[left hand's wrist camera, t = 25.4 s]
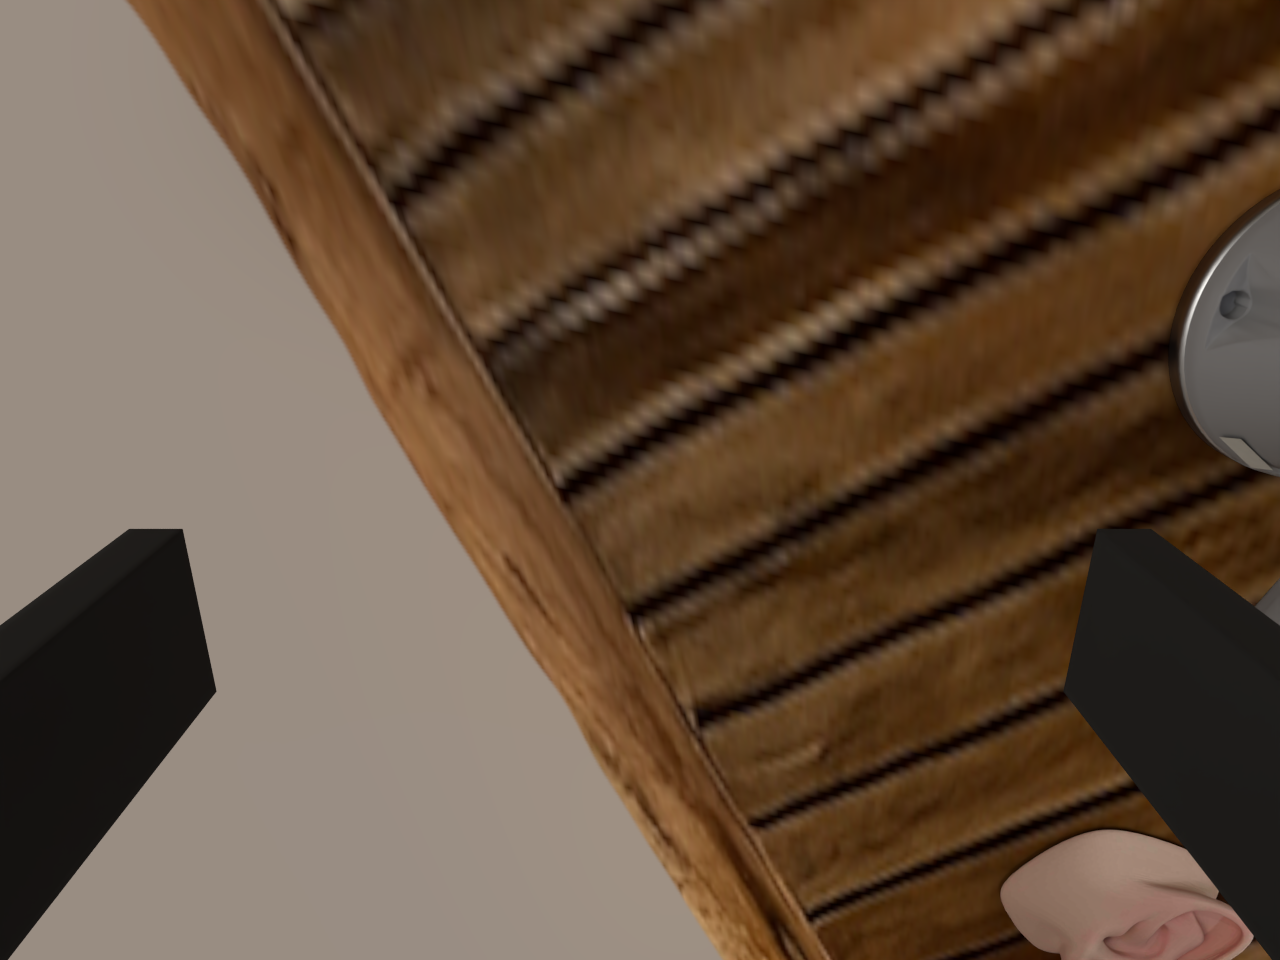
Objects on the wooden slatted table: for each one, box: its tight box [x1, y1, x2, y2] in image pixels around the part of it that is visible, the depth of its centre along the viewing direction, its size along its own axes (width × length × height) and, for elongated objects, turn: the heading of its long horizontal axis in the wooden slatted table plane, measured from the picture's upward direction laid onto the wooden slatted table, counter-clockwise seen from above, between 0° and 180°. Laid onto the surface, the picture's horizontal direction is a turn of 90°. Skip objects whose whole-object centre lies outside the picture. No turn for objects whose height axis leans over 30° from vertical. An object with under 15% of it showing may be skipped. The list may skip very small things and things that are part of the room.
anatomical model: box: [1000, 830, 1253, 960], centre depth 55 cm, size 13×4×12 cm
